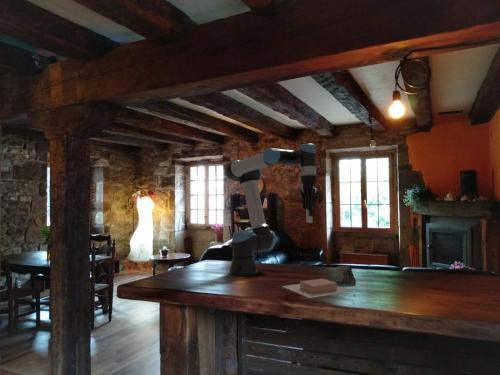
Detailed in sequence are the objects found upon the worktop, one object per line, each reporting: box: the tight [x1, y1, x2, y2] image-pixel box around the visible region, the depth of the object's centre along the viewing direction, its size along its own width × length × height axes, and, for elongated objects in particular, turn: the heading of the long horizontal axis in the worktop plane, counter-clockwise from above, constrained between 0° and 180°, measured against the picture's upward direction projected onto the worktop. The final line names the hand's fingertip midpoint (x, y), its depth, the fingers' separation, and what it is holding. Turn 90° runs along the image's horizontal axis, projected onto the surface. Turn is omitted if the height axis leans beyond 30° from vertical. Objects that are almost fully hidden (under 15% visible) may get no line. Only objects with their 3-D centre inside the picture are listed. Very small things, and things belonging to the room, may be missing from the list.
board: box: [281, 283, 354, 299], centre depth 159 cm, size 22×22×1 cm
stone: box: [333, 265, 357, 286], centre depth 171 cm, size 10×10×10 cm
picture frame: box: [299, 278, 338, 294], centre depth 157 cm, size 3×12×10 cm
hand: (309, 222), depth 181 cm, fingers closed
